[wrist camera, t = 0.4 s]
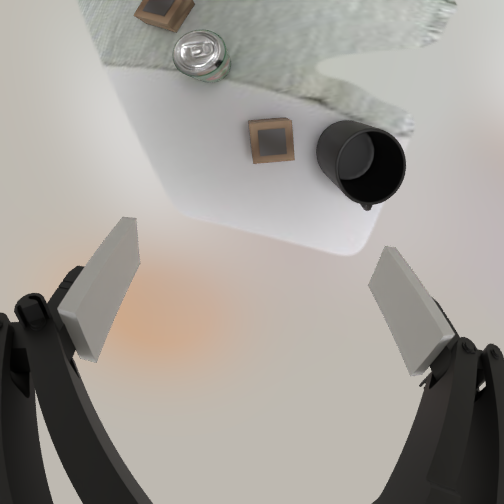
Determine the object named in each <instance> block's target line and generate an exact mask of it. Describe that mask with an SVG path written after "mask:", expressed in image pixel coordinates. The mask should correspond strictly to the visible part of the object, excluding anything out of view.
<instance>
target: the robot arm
mask: <svg viewBox="0 0 504 504" xmlns="http://www.w3.org/2000/svg"><path fill="white" fill-rule="evenodd" d="M139 265H140V258H139V247H138V235H137V221H136V218H128V217H122V219H121V220H120V221H119V222H118V223H117V225H116V226H115V227H114V228H113V230H112V231H111V232H110V233H109V235H108V236H107V237H106V239H105V240H104V241H103V242H102V244H101V245H100V247H99V248H98V249H97V251H96V252H95V253H94V255H93V256H92V257H91V259H90V260H89V262H88V263H87V264H86V266H85V267H82V266H76V267H75V268H74V269H72V270H71V271H70V272H69V273H68V274H67V275H66V277H65V278H64V279H63V282H61V284H60V285H59V288H57V290H56V291H55V293H54V294H53V295H52V297H51V298H50V300H49V302H48V303H46V301H45V299H44V297H43V296H42V295H41V294H39V293H31V294H27V295H25V296H23V297H22V298H21V299H20V300H19V301H18V302H17V304H16V305H15V309H14V312H15V314H16V316H17V318H18V320H19V322H10V321H9V319H8V317H7V315H6V314H4V313H0V504H53V501H52V497H51V494H50V491H49V486H48V483H47V478H46V474H45V469H44V465H43V460H42V455H41V448H40V442H39V435H38V426H37V417H36V403H35V390H36V394H37V397H38V401H39V404H40V408H41V411H42V414H43V417H44V420H45V423H46V426H47V428H48V431H49V434H50V436H51V439H52V442H53V444H54V446H55V449H56V451H57V454H58V456H59V458H60V460H61V462H62V465H63V467H64V469H65V471H66V473H67V475H68V477H69V479H70V481H71V483H72V485H73V487H74V488H75V490H76V492H77V494H78V496H79V497H80V499H81V501H82V503H83V504H153V503H152V502H151V500H150V499H149V498H148V496H147V495H146V494H145V492H144V491H143V490H142V488H141V487H140V486H139V484H138V483H137V481H136V480H135V479H134V477H133V475H132V474H131V472H130V471H129V470H128V468H127V466H126V465H125V464H124V462H123V460H122V458H121V457H120V455H119V453H118V452H117V450H116V448H115V447H114V445H113V443H112V442H111V440H110V438H109V436H108V434H107V433H106V431H105V429H104V427H103V425H102V423H101V421H100V419H99V417H98V415H97V413H96V411H95V409H94V407H93V405H92V402H91V401H90V398H89V396H88V394H87V391H86V389H85V387H84V384H83V382H82V379H81V377H80V374H79V372H78V369H77V367H76V364H75V361H74V360H73V358H72V357H73V355H74V352H75V350H76V351H77V353H78V355H79V357H80V359H84V360H88V361H91V362H97V360H98V357H99V355H100V352H101V350H102V347H103V345H104V342H105V340H106V337H107V335H108V333H109V330H110V328H111V325H112V323H113V321H114V318H115V316H116V314H117V312H118V309H119V306H120V305H121V303H122V301H123V298H124V296H125V294H126V292H127V289H128V288H129V285H130V283H131V281H132V279H133V277H134V275H135V273H136V271H137V269H138V267H139ZM368 286H369V288H370V290H371V292H372V294H373V296H374V298H375V300H376V302H377V304H378V306H379V308H380V310H381V312H382V314H383V316H384V318H385V320H386V322H387V324H388V326H389V328H390V330H391V333H392V335H393V337H394V339H395V341H396V344H397V346H398V348H399V350H400V353H401V355H402V357H403V360H404V362H405V364H406V367H407V369H408V371H409V374H410V376H415V375H422V374H423V373H424V372H425V371H426V370H427V369H428V367H429V366H430V368H431V370H432V372H431V373H430V374H429V375H428V376H427V377H426V378H425V379H424V380H423V382H421V384H420V385H419V386H420V387H421V386H422V385H423V384H424V383H426V385H425V387H424V392H423V395H422V399H421V402H420V405H419V408H418V411H417V414H416V417H415V420H414V422H413V425H412V428H411V431H410V434H409V436H408V438H407V441H406V443H405V446H404V448H403V451H402V453H401V455H400V457H399V459H398V462H397V464H396V466H395V468H394V470H393V472H392V474H391V476H390V479H389V480H388V482H387V484H386V486H385V488H384V490H383V492H382V493H381V495H380V497H379V498H378V499H377V500H376V501H374V502H373V503H372V504H504V358H503V354H502V352H501V351H500V349H499V348H498V347H497V346H496V345H494V344H488V345H487V346H486V348H485V349H484V350H483V351H482V350H478V349H477V348H476V346H475V345H474V343H473V342H472V341H471V340H469V339H468V338H465V337H461V338H460V337H459V335H458V334H457V332H456V330H455V329H454V327H453V325H452V324H451V322H450V321H449V319H448V318H447V316H446V314H445V313H444V312H443V310H442V308H441V306H440V305H439V303H438V302H437V301H435V300H434V299H433V298H432V297H431V296H430V294H429V293H428V291H427V290H426V289H425V287H424V286H423V284H422V283H421V281H420V280H419V278H418V277H417V276H416V274H415V273H414V271H413V270H412V269H411V267H410V266H409V265H408V263H407V262H406V261H405V259H404V258H403V257H402V255H401V254H400V253H399V251H398V250H397V249H396V248H395V247H388V246H385V247H384V249H383V252H382V254H381V257H380V259H379V261H378V264H377V266H376V269H375V271H374V273H373V275H372V277H371V280H370V282H369V284H368ZM484 382H486V387H484V388H483V389H482V390H481V391H480V390H479V387H480V386H481V385H482V384H483V383H484Z"/></svg>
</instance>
